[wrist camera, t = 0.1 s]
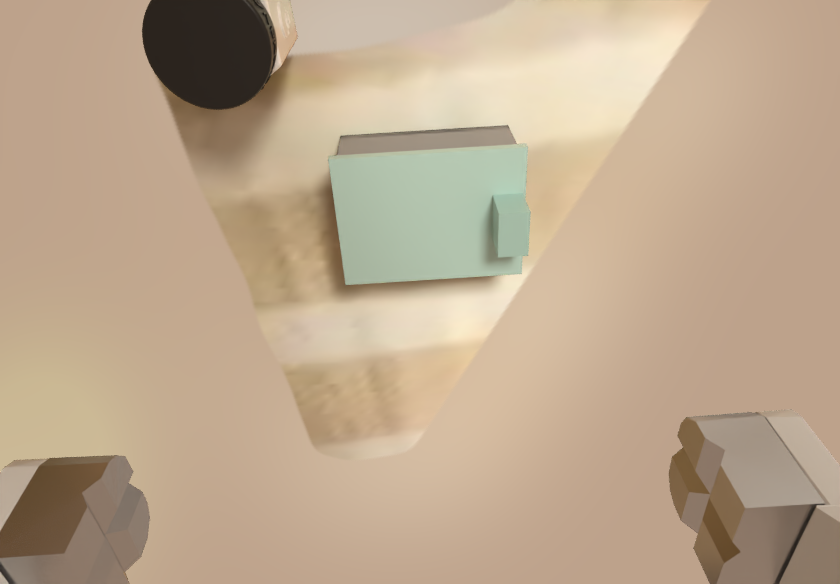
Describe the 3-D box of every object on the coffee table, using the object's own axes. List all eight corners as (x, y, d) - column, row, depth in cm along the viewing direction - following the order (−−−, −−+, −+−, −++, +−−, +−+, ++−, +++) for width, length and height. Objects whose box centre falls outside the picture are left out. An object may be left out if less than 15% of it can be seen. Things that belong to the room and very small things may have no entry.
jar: (306, 64, 52) (286, 109, 42) (210, 76, 52) (168, 123, 42) (281, -57, 47) (252, -39, 37) (175, -44, 47) (118, -22, 37)
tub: (340, 135, 55) (335, 161, 50) (507, 125, 56) (519, 149, 51) (354, 243, 62) (350, 275, 57) (504, 233, 62) (514, 264, 57)
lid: (329, 155, 50) (324, 177, 47) (526, 143, 50) (536, 163, 47) (346, 280, 57) (343, 307, 53) (520, 269, 57) (528, 295, 53)
